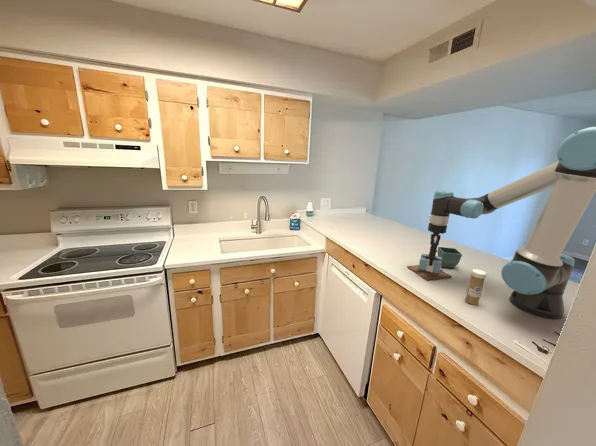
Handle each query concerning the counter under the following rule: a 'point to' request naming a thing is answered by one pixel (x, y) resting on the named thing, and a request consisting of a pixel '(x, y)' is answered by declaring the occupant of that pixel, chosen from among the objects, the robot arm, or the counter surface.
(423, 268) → the blue notched block
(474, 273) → the sprinkles bottle
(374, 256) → the counter surface
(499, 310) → the counter surface
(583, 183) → the robot arm
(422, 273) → the post base
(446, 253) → the flower pot
